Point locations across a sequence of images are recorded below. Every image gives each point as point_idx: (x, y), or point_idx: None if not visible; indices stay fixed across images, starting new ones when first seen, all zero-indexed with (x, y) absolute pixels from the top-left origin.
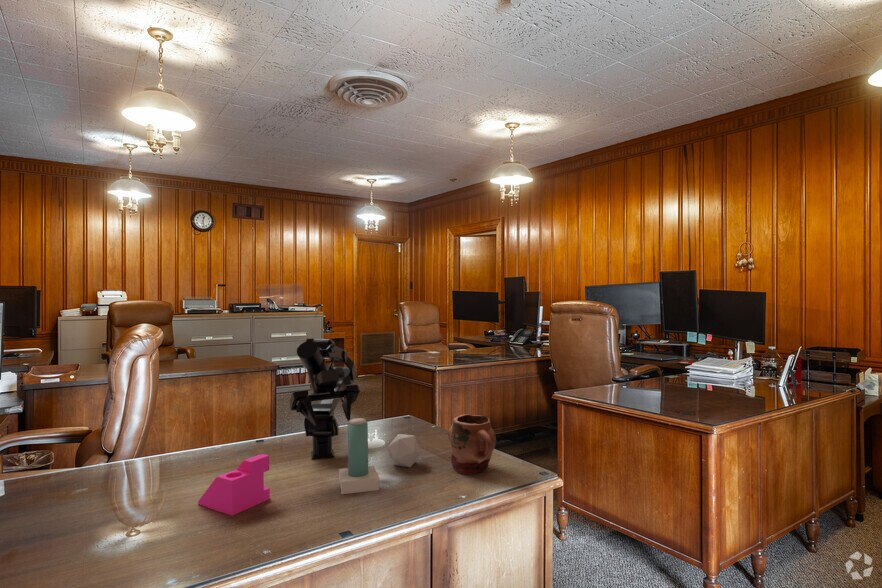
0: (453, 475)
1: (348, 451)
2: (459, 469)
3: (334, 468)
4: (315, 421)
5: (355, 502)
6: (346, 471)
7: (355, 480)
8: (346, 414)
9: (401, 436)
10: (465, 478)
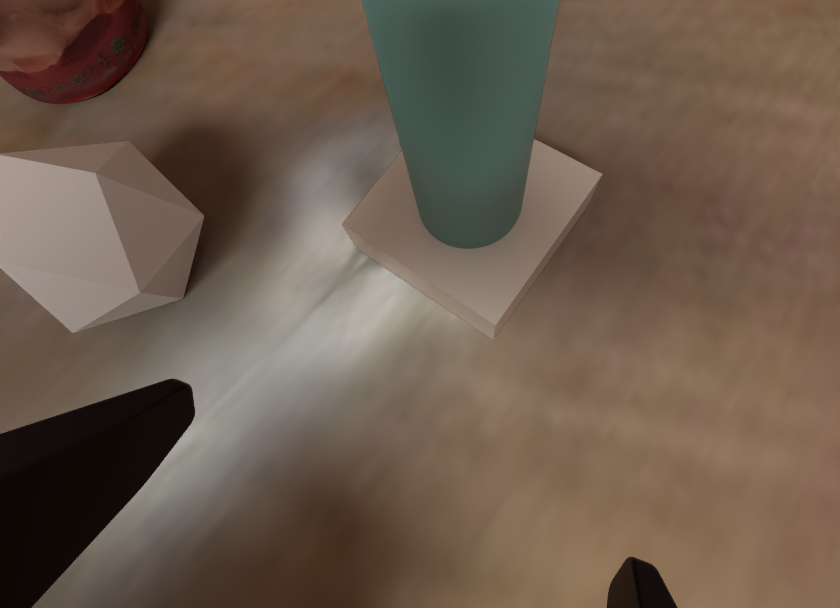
0: (175, 47)
1: (532, 137)
2: (141, 27)
3: (383, 521)
4: (663, 595)
5: (596, 108)
6: (491, 266)
7: (540, 144)
8: (108, 481)
9: (39, 201)
10: (182, 5)
